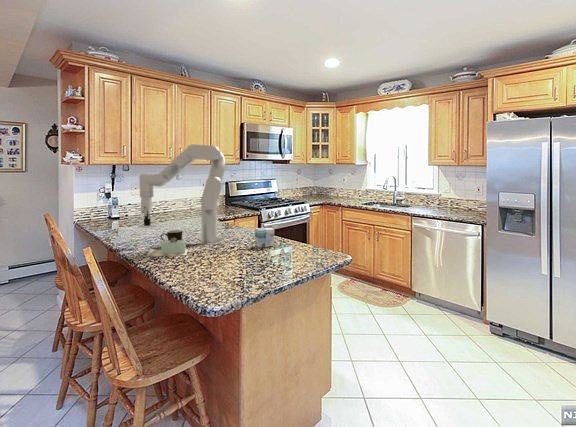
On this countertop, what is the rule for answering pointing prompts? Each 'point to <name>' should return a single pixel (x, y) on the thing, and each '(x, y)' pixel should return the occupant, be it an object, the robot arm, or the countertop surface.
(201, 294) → the countertop surface
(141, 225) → the t key
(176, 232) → the coffee mug
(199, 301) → the countertop surface
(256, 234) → the light bulb box
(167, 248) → the slotted block
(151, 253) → the base plate
